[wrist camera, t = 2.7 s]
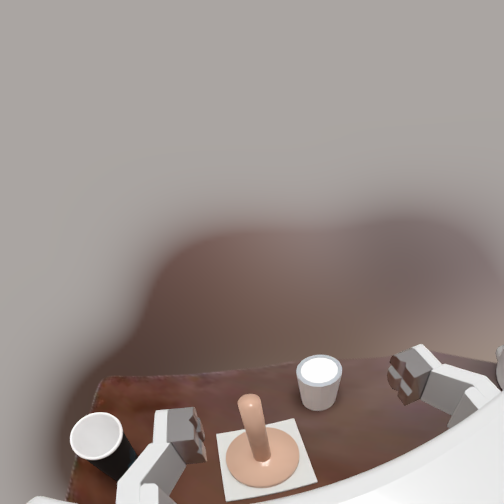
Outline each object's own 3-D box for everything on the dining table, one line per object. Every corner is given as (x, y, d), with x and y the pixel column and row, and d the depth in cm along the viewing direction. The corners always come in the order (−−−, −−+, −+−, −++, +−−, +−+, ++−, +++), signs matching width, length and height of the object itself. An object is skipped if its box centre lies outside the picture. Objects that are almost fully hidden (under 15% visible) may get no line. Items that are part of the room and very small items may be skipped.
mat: (293, 419, 40) (293, 418, 40) (317, 482, 29) (317, 481, 29) (217, 435, 39) (216, 434, 38) (226, 501, 28) (225, 501, 27)
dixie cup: (164, 478, 31) (132, 441, 27) (121, 501, 26) (80, 468, 22) (138, 445, 37) (108, 403, 32) (100, 465, 32) (63, 426, 28)
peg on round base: (289, 424, 39) (283, 361, 33) (308, 478, 30) (309, 426, 24) (223, 438, 38) (200, 378, 32) (232, 493, 28) (205, 448, 23)
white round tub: (288, 400, 44) (286, 371, 41) (316, 377, 48) (316, 348, 45) (320, 421, 39) (322, 393, 36) (347, 394, 43) (351, 365, 40)
